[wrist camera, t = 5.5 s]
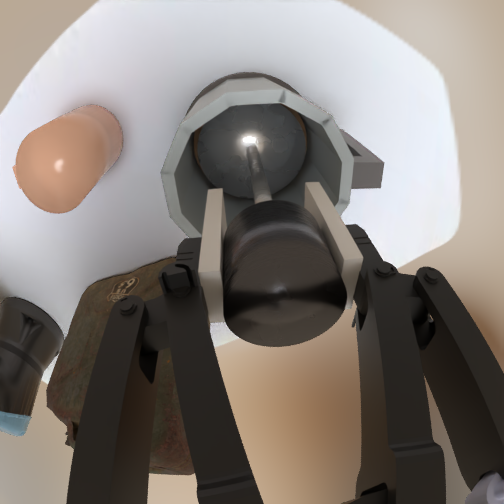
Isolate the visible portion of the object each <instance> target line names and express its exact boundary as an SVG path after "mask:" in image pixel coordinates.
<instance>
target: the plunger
mask: <svg viewBox="0 0 504 504" xmlns="http://www.w3.org/2000/svg"><path fill="white" fill-rule="evenodd" d="M197 152H198V159H199V163H200V166H201V168H202V170H203V172H204V174H205V175H206V177H207V178H208V179H209V181H210V182H211V183H212V184H213V185H215V186H216V187H217V188H223V192H225V193H228V194H230V195H233V196H236V197H241V198H254V200H255V204H253V205H251V206H249V207H247V208H245V209H244V210H242V211H241V212H240V213H239V214H238V215H236V216H235V217H234V219H233V220H232V221H231V222H230V224H229V226H228V227H227V230H226V232H225V236H224V259H223V315H224V319H225V322H226V324H227V326H228V327H229V329H230V330H231V331H232V332H233V333H234V334H235V335H236V336H238V337H239V338H241V339H243V340H245V341H247V342H250V343H252V344H256V345H261V346H269V347H282V346H290V345H295V344H299V343H303V342H305V341H308V340H311V339H313V338H315V337H317V336H319V335H320V334H322V333H324V332H325V331H327V330H328V329H329V328H330V327H332V326H333V325H334V324H335V322H337V320H338V319H339V318H340V317H341V315H342V313H343V311H344V310H345V307H346V304H347V290H346V286H345V284H344V282H343V279H342V277H341V275H340V272H339V270H338V268H337V265H336V263H335V261H334V258H333V256H332V254H331V251H330V249H329V247H328V245H327V242H326V240H325V238H324V236H323V234H322V231H321V229H320V227H319V225H318V223H317V221H316V219H315V218H314V216H313V215H312V214H311V213H310V212H309V211H308V210H307V209H305V208H304V207H302V206H300V205H298V204H296V203H293V202H289V201H285V200H273V199H272V196H271V194H274V193H276V192H278V191H280V190H281V189H283V188H284V187H286V186H287V185H288V184H289V183H290V182H291V181H292V180H293V179H294V178H295V177H296V175H297V174H298V172H299V171H300V169H301V167H302V164H303V162H304V158H305V152H306V141H305V136H304V132H303V130H302V127H301V125H300V123H299V122H298V120H297V119H296V118H295V116H294V115H293V114H292V113H291V112H290V111H289V110H288V109H286V108H285V107H284V106H282V105H281V104H279V103H268V104H249V105H235V106H230V107H229V108H227V109H226V110H224V111H223V112H221V113H220V114H218V115H217V116H215V117H214V118H212V119H211V120H209V121H208V122H206V123H205V124H204V125H203V127H202V130H201V132H200V135H199V139H198V146H197Z"/></svg>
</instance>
